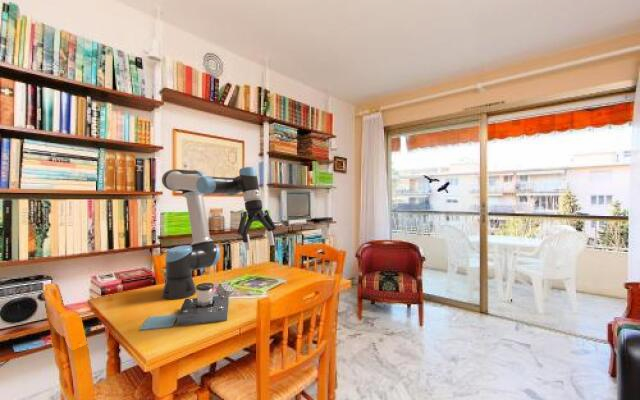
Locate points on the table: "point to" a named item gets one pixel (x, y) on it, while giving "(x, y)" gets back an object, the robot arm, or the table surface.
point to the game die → (224, 289)
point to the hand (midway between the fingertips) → (260, 247)
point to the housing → (203, 311)
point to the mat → (159, 322)
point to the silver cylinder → (205, 295)
